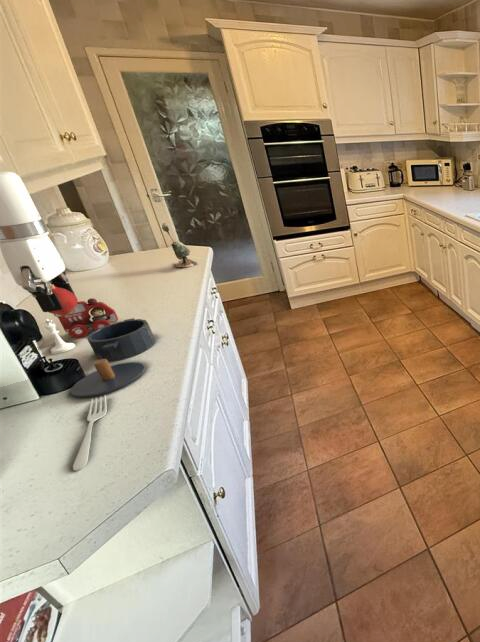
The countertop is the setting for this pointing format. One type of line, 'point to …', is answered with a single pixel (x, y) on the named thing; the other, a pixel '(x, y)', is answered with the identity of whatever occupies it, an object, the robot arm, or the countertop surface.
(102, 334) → the pan
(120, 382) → the lid
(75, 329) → the toy fire truck
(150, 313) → the countertop surface
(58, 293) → the onion
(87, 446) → the fork
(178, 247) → the plant with pod
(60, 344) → the chess piece
